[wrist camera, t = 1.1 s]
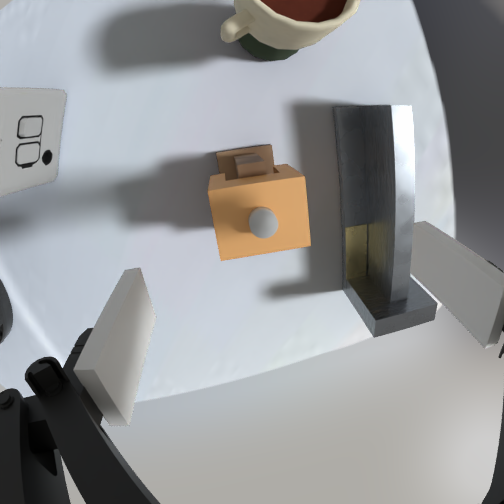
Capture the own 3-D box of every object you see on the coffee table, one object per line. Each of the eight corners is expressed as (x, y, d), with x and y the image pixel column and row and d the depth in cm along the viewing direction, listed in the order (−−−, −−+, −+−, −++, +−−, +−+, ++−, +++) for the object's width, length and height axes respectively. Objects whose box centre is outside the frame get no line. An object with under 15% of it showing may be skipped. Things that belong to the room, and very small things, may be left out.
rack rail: (343, 290, 36) (373, 337, 27) (332, 107, 27) (374, 105, 19) (395, 278, 36) (434, 319, 28) (394, 106, 28) (448, 107, 19)
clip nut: (220, 231, 28) (221, 268, 21) (210, 175, 26) (206, 195, 19) (292, 220, 28) (315, 252, 21) (286, 163, 26) (309, 179, 19)
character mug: (292, -18, 22) (335, -84, 10) (336, 36, 25) (405, -4, 13) (198, 35, 24) (183, -21, 12) (244, 91, 26) (263, 69, 14)
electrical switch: (59, 180, 28) (1, 204, 19) (23, 175, 27) (-34, 196, 18) (70, 89, 24) (11, 84, 15) (32, 90, 24) (-27, 89, 15)
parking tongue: (230, 232, 32) (232, 263, 25) (216, 152, 28) (215, 161, 22) (279, 224, 32) (295, 252, 25) (269, 144, 28) (284, 151, 22)
